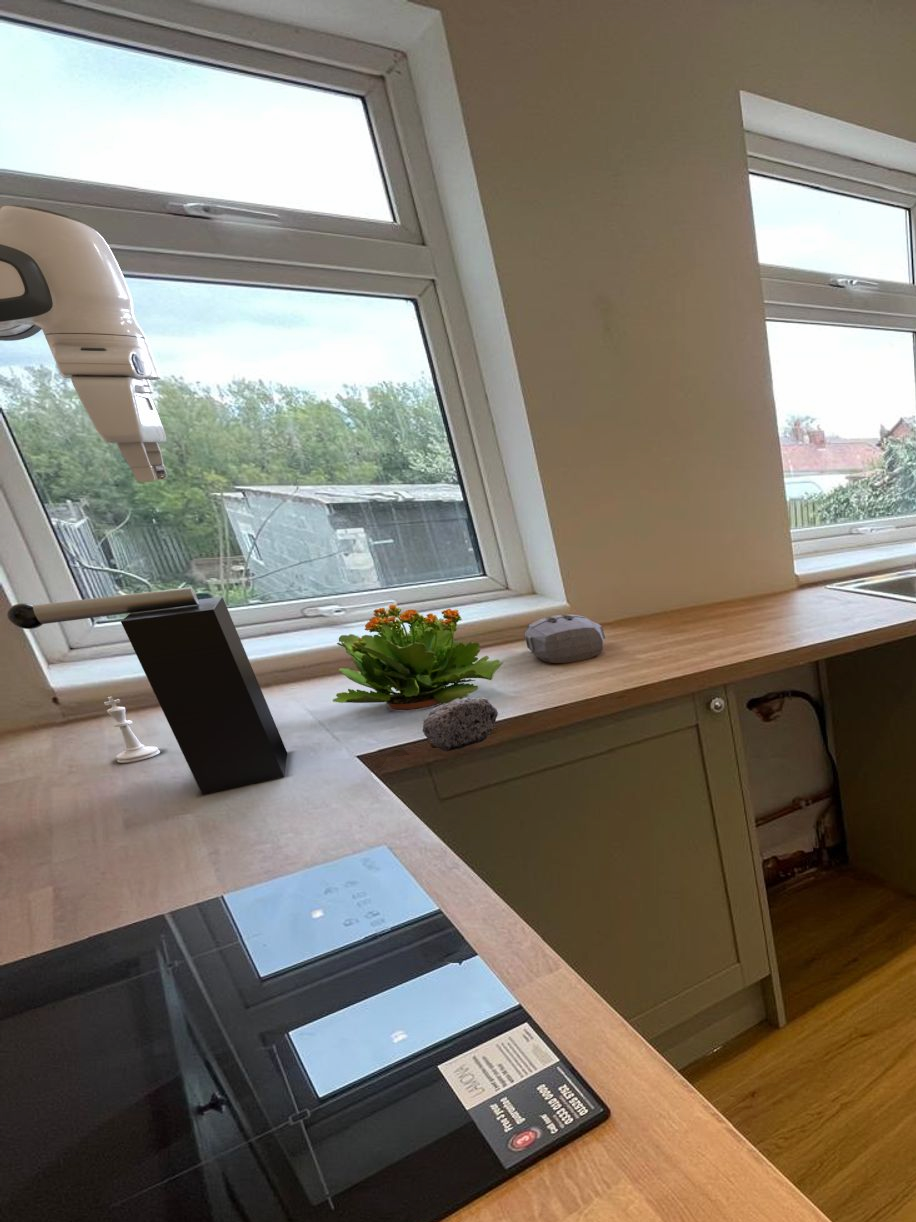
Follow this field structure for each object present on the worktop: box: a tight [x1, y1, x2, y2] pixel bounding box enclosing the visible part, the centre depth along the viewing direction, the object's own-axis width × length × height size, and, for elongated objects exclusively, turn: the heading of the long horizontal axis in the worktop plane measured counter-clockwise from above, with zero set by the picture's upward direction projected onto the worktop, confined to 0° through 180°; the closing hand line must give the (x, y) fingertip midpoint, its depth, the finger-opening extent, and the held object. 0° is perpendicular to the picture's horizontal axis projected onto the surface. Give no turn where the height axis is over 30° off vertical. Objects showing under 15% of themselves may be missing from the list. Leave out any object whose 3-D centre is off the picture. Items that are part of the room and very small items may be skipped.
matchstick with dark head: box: [6, 586, 199, 630], centre depth 107 cm, size 18×3×3 cm, turn 128°
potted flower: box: [332, 604, 504, 712], centre depth 145 cm, size 25×24×18 cm
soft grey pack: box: [524, 613, 606, 664], centre depth 176 cm, size 15×8×20 cm
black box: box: [120, 596, 288, 796], centre depth 115 cm, size 9×12×25 cm
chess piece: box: [103, 696, 161, 764], centre depth 127 cm, size 5×5×10 cm
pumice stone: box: [422, 697, 499, 752], centre depth 128 cm, size 10×8×10 cm
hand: (153, 480), depth 106 cm, fingers open, 8 cm apart
